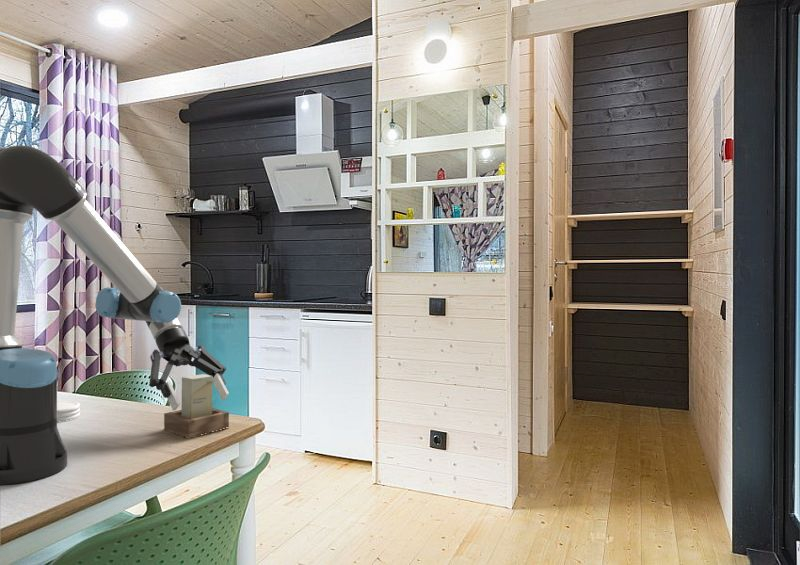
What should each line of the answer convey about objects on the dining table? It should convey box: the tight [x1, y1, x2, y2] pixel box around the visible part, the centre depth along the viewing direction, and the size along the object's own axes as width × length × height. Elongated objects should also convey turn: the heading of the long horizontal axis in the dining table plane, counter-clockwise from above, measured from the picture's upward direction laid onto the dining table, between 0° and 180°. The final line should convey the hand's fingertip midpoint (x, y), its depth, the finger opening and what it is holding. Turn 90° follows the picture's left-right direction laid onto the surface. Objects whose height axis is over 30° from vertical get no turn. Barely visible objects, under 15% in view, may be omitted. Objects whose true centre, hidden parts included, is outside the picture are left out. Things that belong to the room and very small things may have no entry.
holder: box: [163, 407, 230, 439], centre depth 142 cm, size 11×11×4 cm
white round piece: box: [57, 400, 81, 423], centre depth 150 cm, size 10×10×4 cm
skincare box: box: [181, 373, 213, 419], centre depth 142 cm, size 6×4×12 cm
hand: (202, 401), depth 141 cm, fingers open, 13 cm apart
